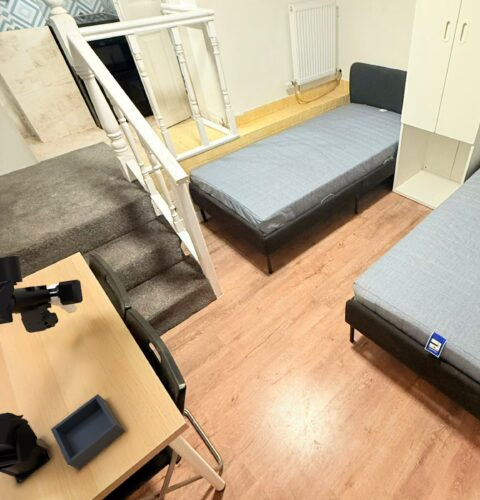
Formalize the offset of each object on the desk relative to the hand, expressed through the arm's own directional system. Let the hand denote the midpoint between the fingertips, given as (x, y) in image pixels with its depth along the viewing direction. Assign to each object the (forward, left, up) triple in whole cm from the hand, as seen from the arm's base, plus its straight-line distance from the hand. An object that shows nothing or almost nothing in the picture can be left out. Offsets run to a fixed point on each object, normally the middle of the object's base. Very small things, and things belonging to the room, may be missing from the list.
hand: (62, 293), depth 95 cm
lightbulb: (-1, -1, -7) cm, 7 cm away
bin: (-12, -36, -12) cm, 40 cm away
